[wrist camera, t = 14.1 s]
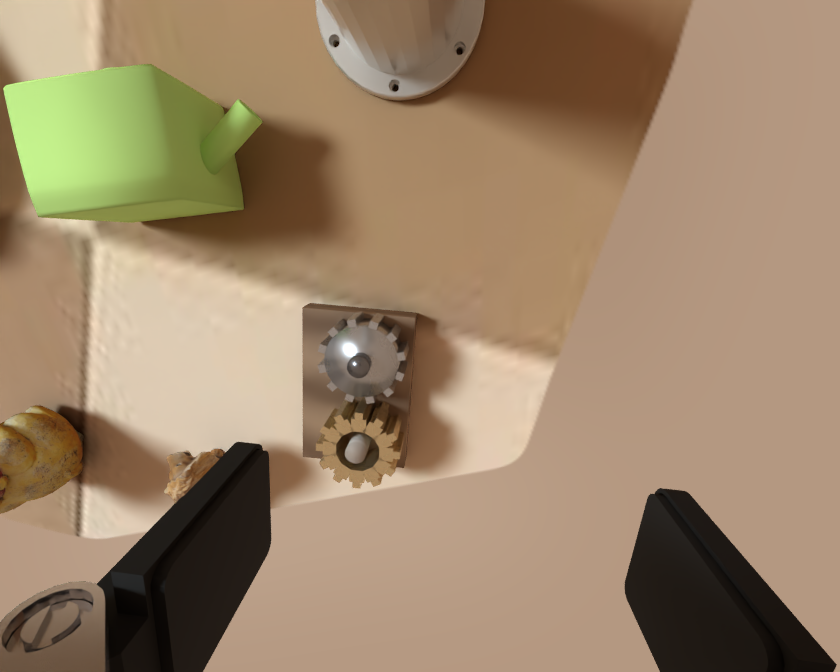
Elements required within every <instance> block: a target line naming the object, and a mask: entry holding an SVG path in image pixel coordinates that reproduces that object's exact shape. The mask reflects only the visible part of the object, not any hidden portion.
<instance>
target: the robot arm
mask: <svg viewBox="0 0 840 672" xmlns="http://www.w3.org/2000/svg"><path fill="white" fill-rule="evenodd" d="M315 3H316V16H317V21H318V25H319V29H320V33H321V36H322V39H323V41H324V43H325V46H326V48H327V51H328V52H329V54H330V55H331V57H332V59H333V60H334V62H335V63H336V65H337V66H338V67H339V69H340V70H341V71H342V72H343V74H344V75H345V76H346V77H347V78H348V79H349V80H351V81H352V82H353V83H354V84H355V85H356V86H358V87H359V88H361V89H363V90H364V91H366V92H368V93H369V94H372V95H375V96H377V97H380V98H383V99H390V100H398V101H400V100H411V99H416V98H419V97H422V96H426V95H429V94H431V93H432V92H434V91H436V90H438V89H439V88H441V87H443V86H444V85H445V84H446V83H448V82H449V81H450V80H451V79H452V78H453V77H455V76H456V74H457V73H458V72H459V71H460V69H461V68H462V67H463V66H464V65H465V63H466V62H467V60H468V58H469V56H470V54H471V53H472V51H473V49H474V47H475V44H476V42H477V39H478V36H479V33H480V30H481V25H482V20H483V15H484V6H485V0H315ZM337 42H339V43H340V44H339V46H338V47H335V43H337ZM459 49H461V50H462V51H463V53H462V54H461V55H458V54H457V53H456V52H457V50H459ZM394 86H398V87H399V89H398V91H396V92H394V91H393V87H394ZM270 516H271V515H270V480H269V454H268V452H267V451H263V449H262V446H261V445H260V444H253V443H244V442H236V443H235V444H234V445H233V446H232V447H231V448H230V449H229V450H228V451H227V452H226V453H225V454H224V455H223V456H222V457H221V458H220V459H219V460H218V461H217V462H216V463H215V464H214V465H213V466H212V467H211V468H210V469H209V470H208V472H207V473H206V474H205V475H204V476H203V477H202V478H201V479H200V480H199V481H198V482H197V483H196V484H195V485H194V486H193V487H192V488H191V489H190V490H189V491H188V492H187V493H186V494H185V495H184V496H183V497H181V498H180V499H179V500H178V501H177V502H176V503H175V504H174V505H173V506H172V507H171V508H170V509H169V510H168V511H167V512H166V513H165V515H164V516H163V517H162V518H161V519H160V520H159V521H158V522H157V523H156V524H155V525H154V526H153V527H152V528H151V529H150V530H149V531H148V532H147V533H146V534H145V535H144V536H143V537H142V538H141V539H140V540H139V541H138V542H137V543H136V545H134V546H133V547H132V548H131V549H130V550H129V552H128V553H127V554H126V555H125V556H124V557H123V558H122V559H121V560H120V561H119V562H118V563H117V564H116V565H115V566H114V567H113V568H112V569H111V570H110V571H109V572H108V573H107V574H106V575H105V576H104V577H103V578H102V579H101V580H100V581H99V582H98V583H97V584H95V583H90V582H86V581H79V582H69V583H65V584H61V585H57V586H54V587H52V588H49V589H47V590H44V591H42V592H40V593H37V594H36V595H34V596H32V597H31V598H29V599H27V600H26V601H24V602H22V603H21V604H19V605H18V606H17V607H16V608H14V609H13V610H12V611H11V612H10V613H8V614H7V615H6V616H5V617H4V618H3V619H2V620H1V622H0V672H203V670H204V669H205V667H206V665H207V663H208V661H209V660H210V658H211V656H212V654H213V652H214V650H215V649H216V647H217V645H218V643H219V641H220V639H221V638H222V636H223V634H224V632H225V630H226V629H227V627H228V625H229V623H230V621H231V620H232V618H233V616H234V614H235V612H236V610H237V608H238V607H239V605H240V603H241V601H242V600H243V598H244V596H245V594H246V592H247V590H248V589H249V587H250V585H251V583H252V581H253V580H254V578H255V576H256V574H257V572H258V570H259V569H260V567H261V565H262V563H263V561H264V560H265V558H266V556H267V554H268V551H269V548H270V544H271V517H270ZM625 594H626V598H627V601H628V603H629V605H630V607H631V609H632V612H633V614H634V616H635V618H636V620H637V622H638V625H639V627H640V629H641V631H642V633H643V635H644V638H645V640H646V642H647V644H648V646H649V649H650V651H651V653H652V655H653V657H654V660H655V662H656V664H657V666H658V668H659V670H660V672H833V671H834V669H835V667H836V663H835V662H834V661H833V660H832V659H831V658H830V656H829V655H828V654H827V653H826V652H825V651H824V649H823V648H822V647H821V646H820V645H819V644H818V643H817V641H816V640H815V639H814V638H813V637H812V636H811V634H810V633H809V632H808V631H807V630H806V629H805V627H804V626H803V625H802V624H801V623H800V622H799V621H798V620H797V618H796V617H795V616H794V615H793V614H792V612H791V611H790V610H789V609H788V608H787V607H786V605H785V604H784V603H783V602H782V601H781V600H780V598H779V597H778V596H777V595H776V594H775V593H774V591H773V590H772V589H771V588H770V587H769V586H768V585H767V583H766V582H765V581H764V580H763V579H762V578H761V576H760V575H759V574H758V573H757V572H756V571H755V569H754V568H753V567H752V566H751V565H750V564H749V563H748V561H747V560H746V559H745V558H744V557H743V556H742V554H741V553H740V552H739V551H738V550H737V549H736V547H735V546H734V545H733V544H732V543H731V542H730V540H729V539H728V538H727V537H726V536H725V535H724V534H723V532H722V531H721V530H720V529H719V528H718V527H717V525H716V524H715V523H714V522H713V521H712V520H711V519H710V517H709V516H708V515H707V514H706V513H705V512H704V510H703V509H702V508H701V507H700V506H699V505H698V503H697V502H696V501H695V500H694V499H693V498H692V496H691V495H690V494H689V493H687V492H685V491H679V490H671V489H662V488H660V489H658V490H657V491H656V492H655V494H650V495H649V497H648V499H647V503H646V506H645V510H644V513H643V517H642V521H641V524H640V528H639V532H638V535H637V539H636V543H635V547H634V550H633V554H632V558H631V562H630V565H629V569H628V573H627V576H626V580H625Z"/></svg>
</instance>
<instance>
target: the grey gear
mask: <svg viewBox="0 0 840 672" xmlns="http://www.w3.org/2000/svg"><path fill="white" fill-rule="evenodd" d="M383 318H384V315H382V314H379V313H376V314H375V316H374V317H373V318H372V319H371V318H364V314H363V311H362V312H356V313H354V314H353V315H352V316H351V317H350V318H349V319H348V320H347V322H346V321H345V320H344V319H342V320H340V321H339V322H338V323H337V324H336V325H335V326H334V327H333V328H332V329H330V330H329V331H328V333H329V334H330V335H329V336H328V337H327V338H326V339H325V340H324V341H323V342H321V343H320V345H319V349H318V352H320V353H323V354H325V357H324V359H323V360H322V361H321V362H320V363H319V365H318V369H319V373H325V372H327V374H328V376H329V378H330V379H331V381H330V382H329V383H328V385H327V387H328V388H329V389H330V390H331V391H332V392H333V391H334V390H335V389H336V388H337V387H338V388H339V389H340V390H341V391H343V392H345V393H347V394H346V397H345V400H347V401H350V402H353V400H354V398H355V397H365V399H366V403H367V404H370V403H375V401H376V398H377V396H378V394H380V393H382V392H383V393H384V394H385V395H386V396H387V397H389V396H390V395H391V394H392V393H394V390H395V387H396V384H397V381H398V380H399V381H402V379H403V377H404V374H405V371H406V367H407V364H408V362H406V361H404V360H406V357H407V354H408V351H409V346H408V342H402V343H401V342H400V340H399V337H398V336H399V333H400V331H401V328H400V327H399V326H398V325H397V324H395V325H394V326H392V327H390V326H388V325H387V324H385V323H384V322H382V321H383ZM346 324H347V325H346Z"/></svg>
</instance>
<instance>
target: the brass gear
mask: <svg viewBox="0 0 840 672" xmlns="http://www.w3.org/2000/svg"><path fill="white" fill-rule="evenodd" d="M389 406H390V405H389V404H388V403H386V402H384V401H383V402H382V404H381V405H378V404H377V405H376V406H375V408H374V403H370V404H367V403H366V399H365V397H362V399H361V401H360V402H359V404H357V402H355V403H353V402H350V401H347V400H344V401H343V403H342V405H341V406H340V408H339V410H337V409H336V408H334V410H333V411H332V413H331V414H330V416H329V417H328V419H327V421H326V422H325V424H324V425H323V427H322V429H321V430H320V432H321V433H322V434H321V436H320V438H319V439H318V441H317V443H316V451H323V455H324V456H323V457H322V459H321V461H320V465H321V466H322V468H323V469H325V468H328V467H329V468H330V469H331V470H332V469H334V468H335V470H334V472H333V473H335V475H334V477H333V479H334V480H335V481H337V482H339V483H340V482H341V480H342V479H345V480H346V479H347V478H348V476H349V481H350V482H353V488H361V485H362V483H364V481H365V479H366V481H367V483H368V482H370V481H371V483H372V485H373V487H374V486H377V485H380V484H381V480H382V477H383V475H384V474H385V473H386V474H387V475H389V476H392V474H393V473H394V472H395V469H396V465H397V461H398V459H399V460H400V455H401V451H402V446H403V441H404V432H399V430H400V426H401V422H402V420H401V418H400V416H399V414H398V415H396V416H392V414H390V415H388V413H389V411H388V409H389ZM352 431H353V432H362V433H365V434H367V435H369V436H370V437H372V438H373V439H374V440H375V442H376V443H377V445H378V447H376V448H374V449H371V450H368V451H367V454H366V457H365V459H364V460H363V461H362V462H361V463H352V462H350V461H348V460H347V458H346V457H345V450H346V448H347V446H348V444H349V442H350V441H349V439H348V437H347V435H346V434H348V433H350V432H352Z"/></svg>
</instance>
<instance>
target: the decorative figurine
mask: <svg viewBox="0 0 840 672" xmlns="http://www.w3.org/2000/svg"><path fill="white" fill-rule="evenodd" d="M83 438H84V436H83V435H82V434H81V433H79V432H77V431H76V430H75V429H74V427H73V426H72V425H71V424H70V423H69V422H68V421H67V420H66V419H65V418H64V417H63V416H61V415H60V414H58V413H56V412H54V411H52V410H50V409H47V408H45V407H43V406H37V405H36V406H32V407H30V408H29V409H27V410H26V411H25V413H20V414H16V415H14V416H12V417H10V418H9V419H7V420H6V421H5V422H3V423H1V424H0V514H1V513H4V512H7V511H10V510H12V509H15V508H17V507H18V506H20V505H22V504H23V503H25V502H27V501H30V500H35V499H38V498H41V497H44V496H46V495H48V494H50V493H53V492H54V491H56V490H57V489H59V488H60V487H62V486H63V485H65V484H66V483H67V482H68V481H69V480H70V479H71V478H73V477H75V476H77V475H79V474H80V473H81V472H82V470H83V466H84V463H83V462H82V460H81V459H82V457H83V448H82V447H83V442H82V440H83Z"/></svg>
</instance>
